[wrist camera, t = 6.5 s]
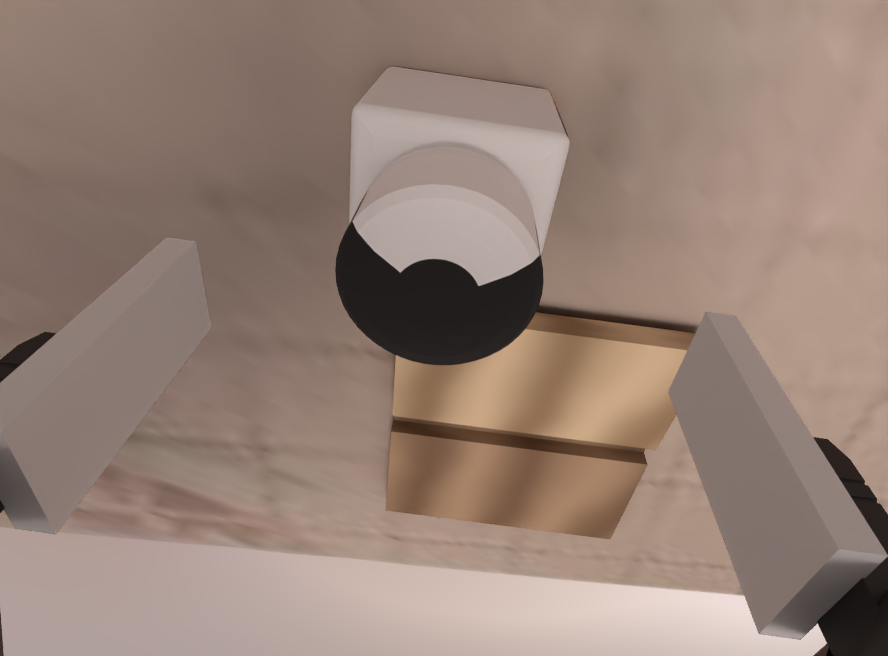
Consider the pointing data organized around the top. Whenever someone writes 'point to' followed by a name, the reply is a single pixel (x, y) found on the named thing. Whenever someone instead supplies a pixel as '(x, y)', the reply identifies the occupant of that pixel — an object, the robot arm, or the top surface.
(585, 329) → the plank
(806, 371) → the top surface
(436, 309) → the medicine bottle
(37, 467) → the robot arm
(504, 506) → the laid board
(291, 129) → the top surface
